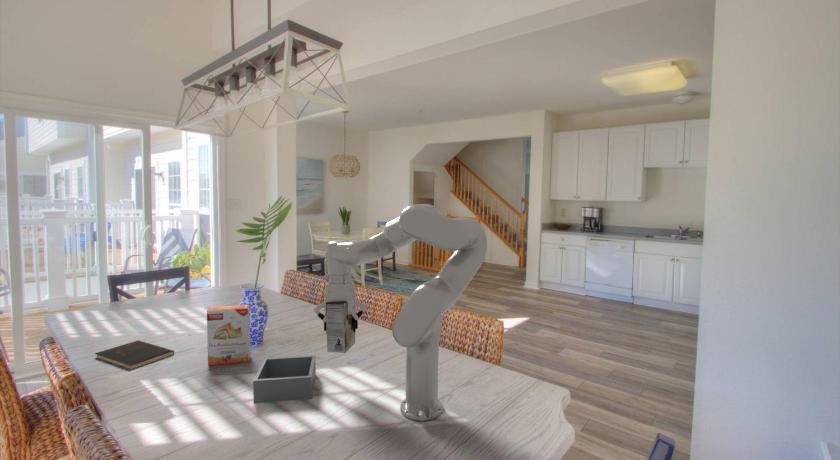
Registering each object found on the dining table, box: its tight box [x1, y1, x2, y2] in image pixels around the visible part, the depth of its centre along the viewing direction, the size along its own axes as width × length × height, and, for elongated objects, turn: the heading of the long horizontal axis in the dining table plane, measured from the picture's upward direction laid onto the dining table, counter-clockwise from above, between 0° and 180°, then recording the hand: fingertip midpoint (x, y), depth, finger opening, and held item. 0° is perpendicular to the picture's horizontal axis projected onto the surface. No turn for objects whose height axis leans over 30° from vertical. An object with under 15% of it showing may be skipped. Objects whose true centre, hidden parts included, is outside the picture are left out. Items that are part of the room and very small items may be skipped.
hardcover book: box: [94, 339, 175, 370], centre depth 156 cm, size 16×23×2 cm
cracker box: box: [206, 304, 251, 366], centre depth 151 cm, size 14×6×21 cm, turn 106°
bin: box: [252, 355, 317, 404], centre depth 131 cm, size 17×17×7 cm
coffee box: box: [326, 301, 356, 354], centre depth 131 cm, size 9×6×16 cm
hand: (341, 331), depth 131 cm, fingers closed on coffee box, 8 cm apart
